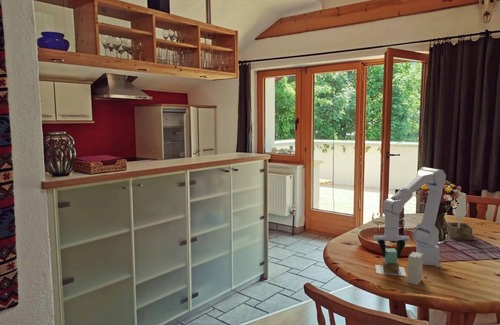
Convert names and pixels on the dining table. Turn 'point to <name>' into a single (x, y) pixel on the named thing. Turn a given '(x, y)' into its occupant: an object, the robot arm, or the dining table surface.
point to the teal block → (390, 255)
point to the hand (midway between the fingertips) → (390, 256)
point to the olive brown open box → (459, 230)
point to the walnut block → (390, 267)
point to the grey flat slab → (380, 270)
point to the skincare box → (415, 268)
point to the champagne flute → (460, 208)
